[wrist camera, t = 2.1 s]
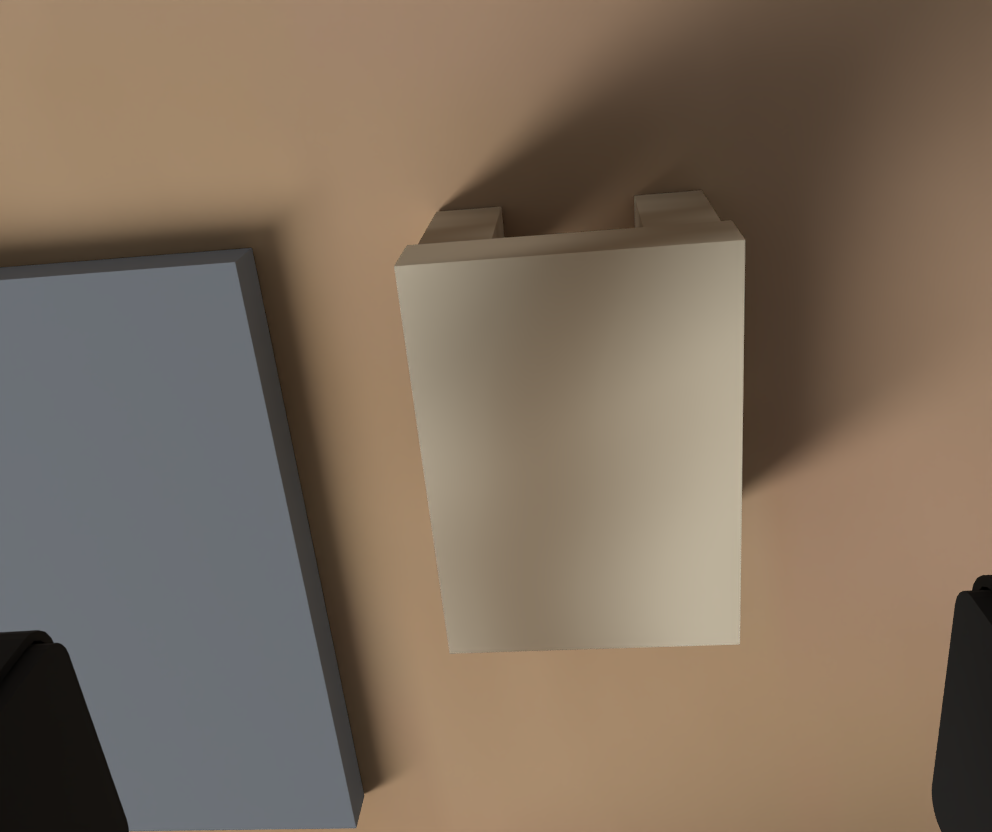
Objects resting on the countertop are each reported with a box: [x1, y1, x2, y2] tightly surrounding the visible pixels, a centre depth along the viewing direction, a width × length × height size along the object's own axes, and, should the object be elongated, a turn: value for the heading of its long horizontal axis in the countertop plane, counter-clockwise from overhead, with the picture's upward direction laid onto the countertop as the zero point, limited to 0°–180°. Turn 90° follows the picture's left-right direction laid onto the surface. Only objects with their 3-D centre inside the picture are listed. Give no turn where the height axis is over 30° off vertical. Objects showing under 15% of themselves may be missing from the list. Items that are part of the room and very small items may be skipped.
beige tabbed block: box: [394, 190, 745, 654], centre depth 17 cm, size 5×7×4 cm
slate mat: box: [0, 248, 364, 831], centre depth 21 cm, size 12×14×1 cm
